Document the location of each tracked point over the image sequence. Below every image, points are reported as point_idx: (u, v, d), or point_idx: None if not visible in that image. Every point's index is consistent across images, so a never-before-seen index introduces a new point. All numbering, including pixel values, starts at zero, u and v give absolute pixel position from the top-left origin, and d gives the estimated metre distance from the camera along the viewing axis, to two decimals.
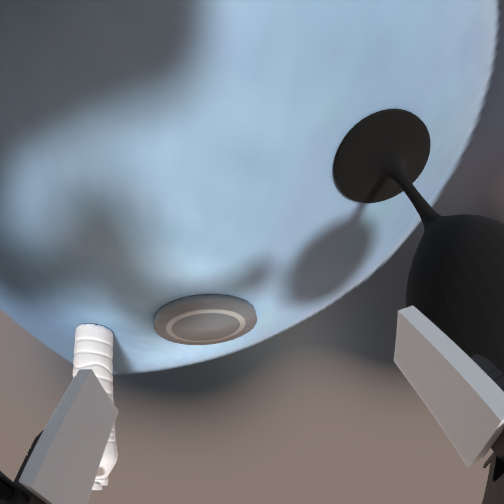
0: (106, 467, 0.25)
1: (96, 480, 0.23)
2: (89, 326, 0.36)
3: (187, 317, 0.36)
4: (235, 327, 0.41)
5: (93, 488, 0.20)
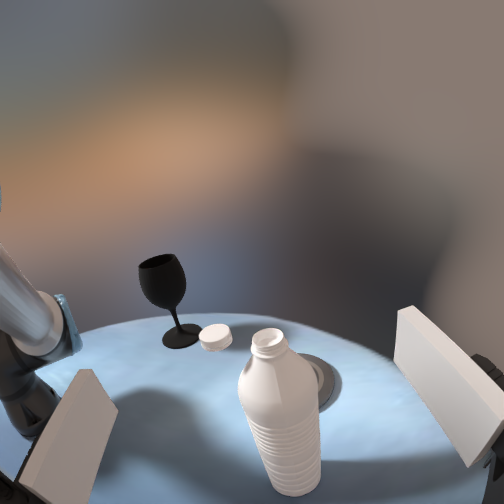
0: None
1: (252, 345, 0.20)
2: None
3: None
4: None
5: None
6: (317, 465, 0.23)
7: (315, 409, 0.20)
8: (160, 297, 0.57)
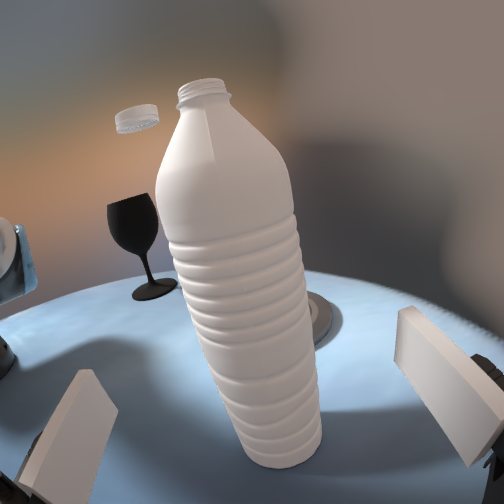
0: None
1: None
2: None
3: None
4: None
5: None
6: (313, 399, 0.15)
7: (290, 223, 0.12)
8: (127, 234, 0.49)
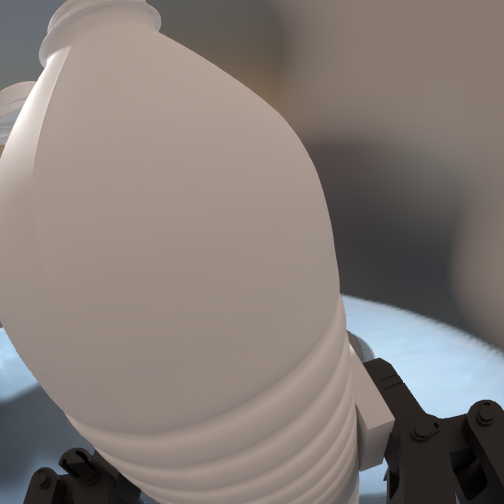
0: None
1: None
2: None
3: None
4: None
5: (12, 123, 0.06)
6: None
7: (337, 335, 0.04)
8: None
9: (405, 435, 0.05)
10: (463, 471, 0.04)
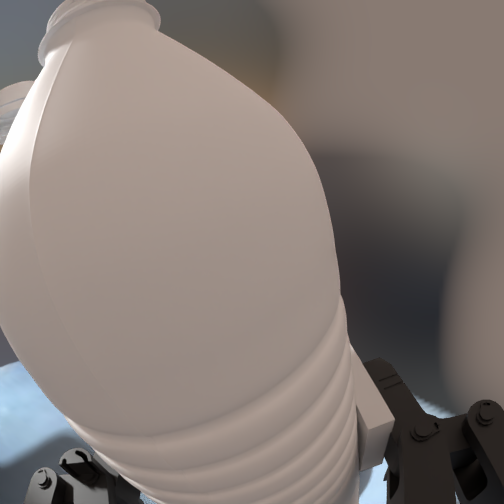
0: None
1: None
2: None
3: None
4: None
5: (11, 123, 0.06)
6: None
7: (338, 337, 0.04)
8: None
9: (405, 435, 0.05)
10: (463, 472, 0.04)
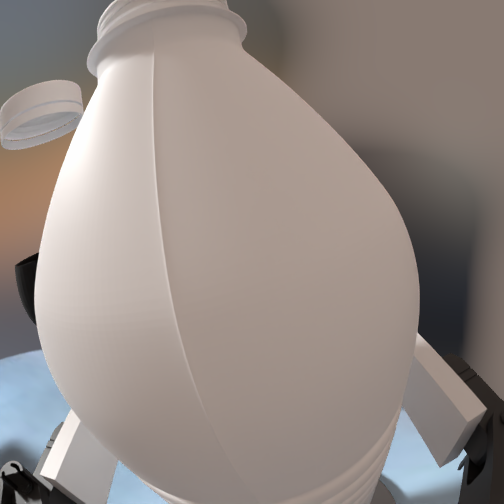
0: None
1: None
2: None
3: None
4: None
5: (33, 124, 0.06)
6: None
7: None
8: None
9: (496, 418, 0.04)
10: None
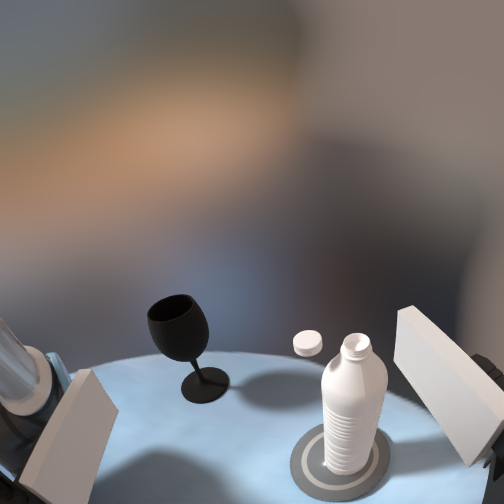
0: None
1: (342, 349, 0.22)
2: None
3: (310, 470, 0.30)
4: None
5: None
6: (371, 445, 0.26)
7: (383, 398, 0.22)
8: (177, 354, 0.44)
9: None
10: None
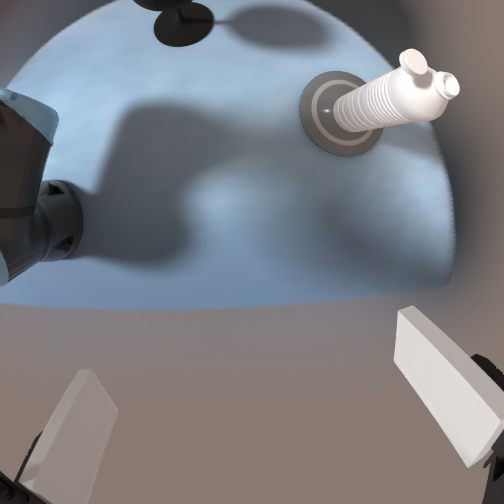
0: None
1: (437, 81, 0.17)
2: (333, 107, 0.39)
3: (320, 121, 0.40)
4: (349, 88, 0.39)
5: (404, 52, 0.16)
6: None
7: None
8: (172, 5, 0.23)
9: None
10: None
